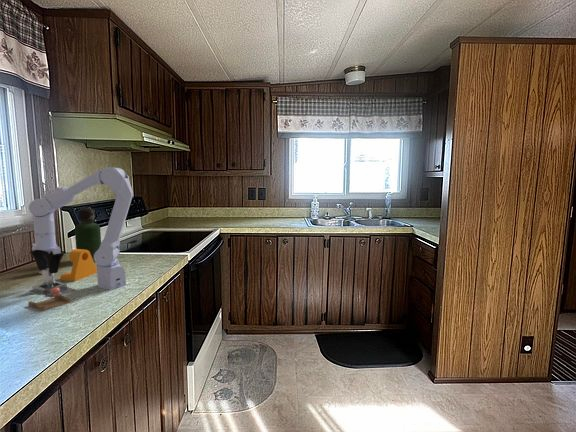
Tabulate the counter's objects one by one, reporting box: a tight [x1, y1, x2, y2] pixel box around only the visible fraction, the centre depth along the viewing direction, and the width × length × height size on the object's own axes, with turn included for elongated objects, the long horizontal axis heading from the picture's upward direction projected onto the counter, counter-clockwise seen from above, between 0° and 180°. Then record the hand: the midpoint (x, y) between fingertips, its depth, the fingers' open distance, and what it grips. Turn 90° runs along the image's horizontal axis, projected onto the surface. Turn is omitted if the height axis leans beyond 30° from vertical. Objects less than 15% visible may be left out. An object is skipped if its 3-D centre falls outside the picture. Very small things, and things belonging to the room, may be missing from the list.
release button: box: [50, 287, 61, 296], centre depth 110 cm, size 2×2×2 cm
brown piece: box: [27, 294, 71, 312], centre depth 102 cm, size 8×8×2 cm
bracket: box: [59, 248, 97, 282], centre depth 129 cm, size 11×7×12 cm, turn 169°
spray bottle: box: [74, 207, 102, 262], centre depth 155 cm, size 10×10×25 cm
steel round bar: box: [41, 268, 57, 289], centre depth 115 cm, size 4×4×7 cm
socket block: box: [31, 280, 77, 299], centre depth 114 cm, size 14×8×2 cm, turn 61°
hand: (48, 271), depth 114 cm, fingers open, 7 cm apart
